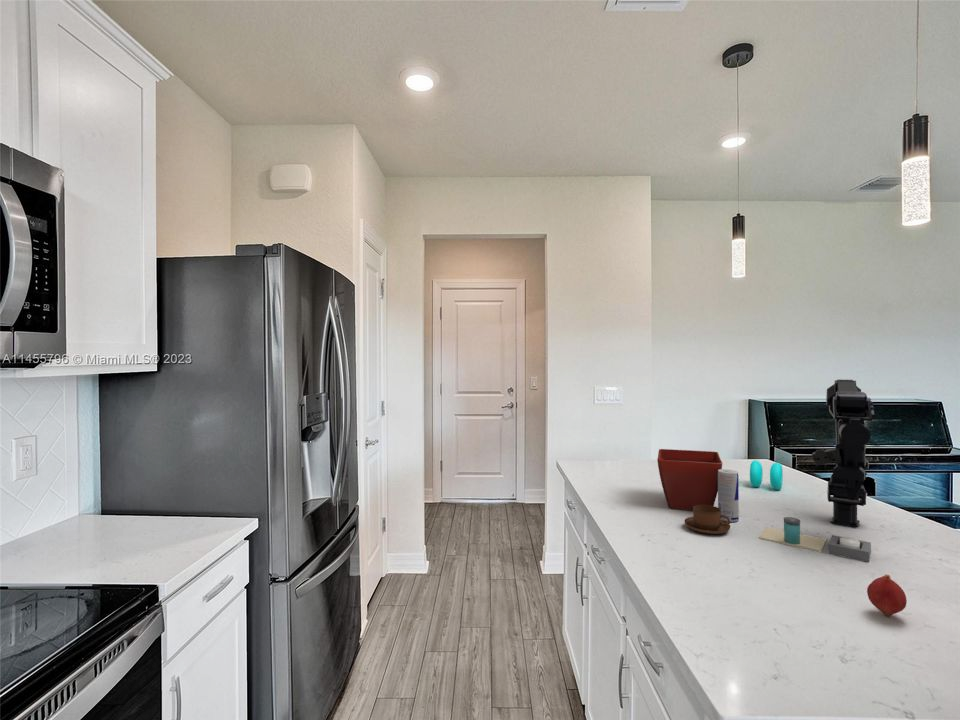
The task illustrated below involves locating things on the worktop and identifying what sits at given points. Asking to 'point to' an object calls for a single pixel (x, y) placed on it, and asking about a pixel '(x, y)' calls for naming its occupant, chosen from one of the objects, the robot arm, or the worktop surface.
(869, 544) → the button housing
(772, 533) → the paper pad
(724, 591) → the worktop surface
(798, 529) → the teal grey-topped cylinder
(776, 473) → the donuts
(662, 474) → the plant pot
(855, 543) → the button
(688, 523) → the cup and saucer
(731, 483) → the beverage can
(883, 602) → the onion
